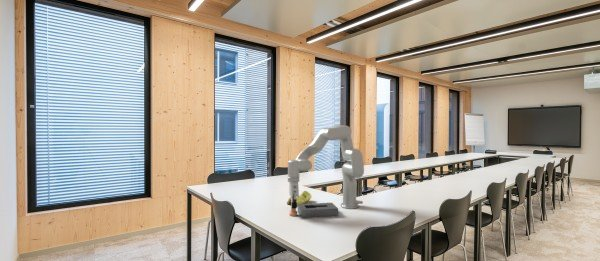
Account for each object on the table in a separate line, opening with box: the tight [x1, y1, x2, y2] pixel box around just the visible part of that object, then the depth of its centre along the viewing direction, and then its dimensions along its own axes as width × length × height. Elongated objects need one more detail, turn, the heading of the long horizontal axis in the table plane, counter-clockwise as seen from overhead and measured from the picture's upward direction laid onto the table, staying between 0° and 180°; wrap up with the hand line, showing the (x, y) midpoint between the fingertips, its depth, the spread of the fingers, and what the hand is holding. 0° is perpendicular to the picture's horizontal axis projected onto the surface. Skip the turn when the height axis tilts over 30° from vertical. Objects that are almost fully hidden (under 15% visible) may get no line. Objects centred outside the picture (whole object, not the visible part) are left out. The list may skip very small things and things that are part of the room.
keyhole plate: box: [297, 202, 339, 219], centre depth 186 cm, size 24×14×5 cm, turn 100°
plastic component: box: [286, 190, 313, 208], centre depth 212 cm, size 20×7×10 cm
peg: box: [289, 198, 298, 217], centre depth 183 cm, size 5×5×11 cm
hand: (293, 206), depth 183 cm, fingers open, 5 cm apart
